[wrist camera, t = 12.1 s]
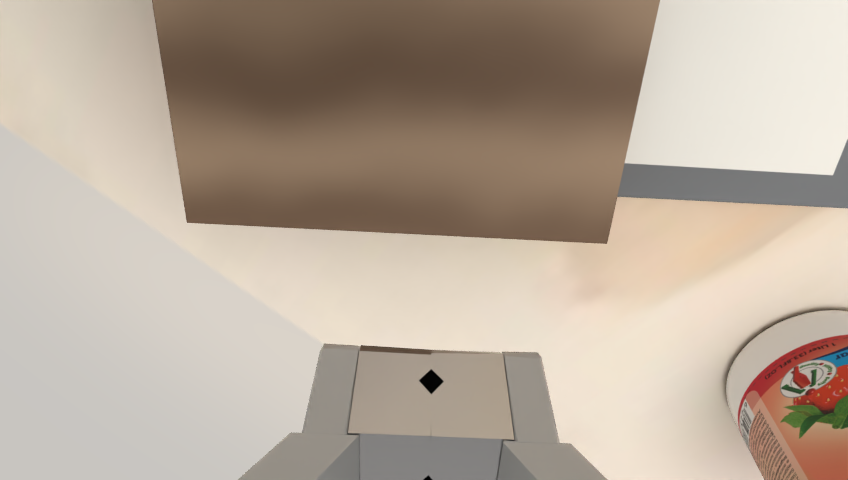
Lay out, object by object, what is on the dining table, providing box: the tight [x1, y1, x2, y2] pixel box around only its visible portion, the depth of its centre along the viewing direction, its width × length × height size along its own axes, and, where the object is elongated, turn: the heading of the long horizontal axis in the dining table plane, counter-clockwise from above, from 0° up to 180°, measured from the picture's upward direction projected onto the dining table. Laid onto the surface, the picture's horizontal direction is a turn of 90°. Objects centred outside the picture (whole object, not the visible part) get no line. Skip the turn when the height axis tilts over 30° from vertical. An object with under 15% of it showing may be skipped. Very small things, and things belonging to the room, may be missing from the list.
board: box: [152, 0, 660, 244], centre depth 27 cm, size 14×18×4 cm
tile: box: [625, 0, 848, 175], centre depth 27 cm, size 7×9×2 cm
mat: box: [617, 139, 848, 208], centre depth 28 cm, size 13×16×1 cm
